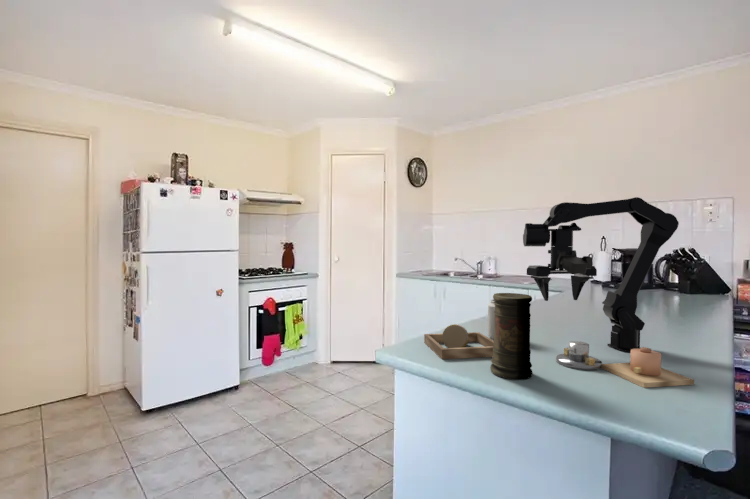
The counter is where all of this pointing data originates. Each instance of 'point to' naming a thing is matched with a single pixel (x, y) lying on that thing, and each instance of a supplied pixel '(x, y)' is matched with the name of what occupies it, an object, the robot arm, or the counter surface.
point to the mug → (455, 336)
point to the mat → (647, 376)
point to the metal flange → (578, 357)
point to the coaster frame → (464, 352)
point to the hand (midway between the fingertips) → (560, 300)
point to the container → (512, 336)
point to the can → (491, 319)
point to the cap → (645, 361)
